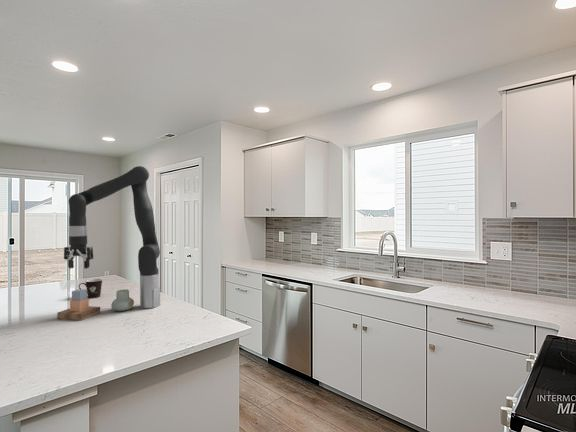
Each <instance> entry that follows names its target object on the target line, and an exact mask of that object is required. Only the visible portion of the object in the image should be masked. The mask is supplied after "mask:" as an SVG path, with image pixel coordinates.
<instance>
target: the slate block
mask: <svg viewBox="0 0 576 432" xmlns="http://www.w3.org/2000/svg"><path fill="white" fill-rule="evenodd" d="M87 298H88V295H87V288H84V289H83V288H81V289H79V288H78V289H74V290H72V291H71V300H72V301H81V300H84V299H87Z"/></svg>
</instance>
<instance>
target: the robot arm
mask: <svg viewBox="0 0 576 432" xmlns="http://www.w3.org/2000/svg"><path fill="white" fill-rule="evenodd" d="M149 177H150V172H149V170H148V168H146V167H144V166H142V165H138V166H134V167H132V169H130V170H129V171H127V172H126V173H123V174H122V175H120V176H117V177H115V178H113V179H110V180H107V181H104V182H102V183H100V184H96V185H94V186H91V187H90V188H88V189H86V190H84V191H82V192H79V193H75V194H72V195H71V196H70V197H69V198H68V206H69V217H68V224H69V225H68V228H69V229H68V245H69V246H66V247H63V248H64V249H63V259H64V260H66V261H67V267H68V269H74V267H75V262H74V261H75V260H74V259H75V258H76V257H80V258H82V260H83V269H89V268H90V265H91V264H90V261H91V260H94V251H93V246H88V247H87V244H88V227H87V216H86V215H87V206H88V205H91V204H92V203H94V202H98V201H101V200H102V199H103V200H104V199H105V198H107V197H110V196H111V195H113V194H115V193H116V192H119V191H121V190H123V189H125V188H127V187H131V191H132V199H133V209H134V210H133V212H134V216H135V217H134V218H135V222H136V226H137V228H138V229H139V232H140V234H141V238H142V246H141V247H140V248H139V249H138V253H137V254H138V255H137V260H138V261H137V263H138V271H139V307H140V309H155V308H156V307H159V306H160V305H161V287H160V286H159V285H160V284H159V268H158V266H157V265H158V264H157V259H158V258H159V257H160V254H161V251H160V250H161V249H160V245H159V241H158V238H157V232H156V224H155V215H154V208H153V205H152V202H151V199H150V197H149V194H148V188H147V186H148V185H147V181H148V180H149Z"/></svg>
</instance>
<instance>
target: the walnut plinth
mask: <svg viewBox="0 0 576 432" xmlns="http://www.w3.org/2000/svg"><path fill="white" fill-rule="evenodd" d="M98 314H101V306H92V305H89V308H88V309H86V310H83V311H80V312H76V311H70V308H67V309H64V310H61V311H59V312H57V315H56V316H57V318H56V319H57V320H68V321H69V320H70V321H84V320H85V319H89V318H91V317H93V316H96V315H98Z"/></svg>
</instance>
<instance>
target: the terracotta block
mask: <svg viewBox="0 0 576 432" xmlns="http://www.w3.org/2000/svg"><path fill="white" fill-rule="evenodd" d="M89 299H90V298H88V297H87V299H84V300H81V301H72V299H70V300H69V309H70V311H76V312H80V311H83V310H86V309H88V308H89V306H90V303H89Z"/></svg>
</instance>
